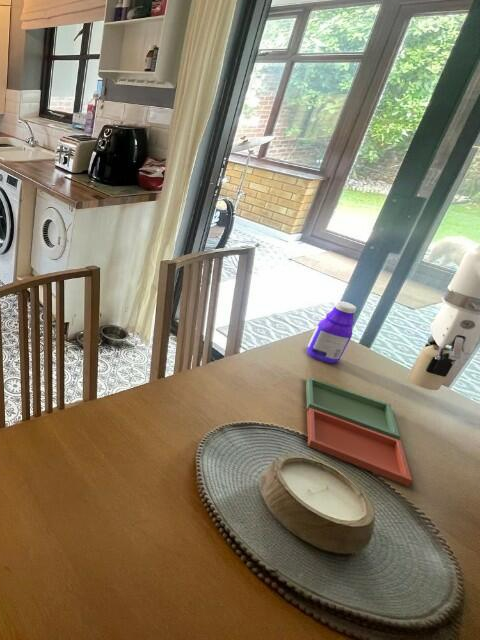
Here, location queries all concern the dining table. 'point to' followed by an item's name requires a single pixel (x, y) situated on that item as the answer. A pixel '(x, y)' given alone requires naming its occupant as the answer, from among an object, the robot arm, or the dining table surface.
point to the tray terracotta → (358, 446)
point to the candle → (419, 372)
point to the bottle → (332, 333)
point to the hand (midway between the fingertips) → (432, 366)
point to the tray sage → (351, 407)
